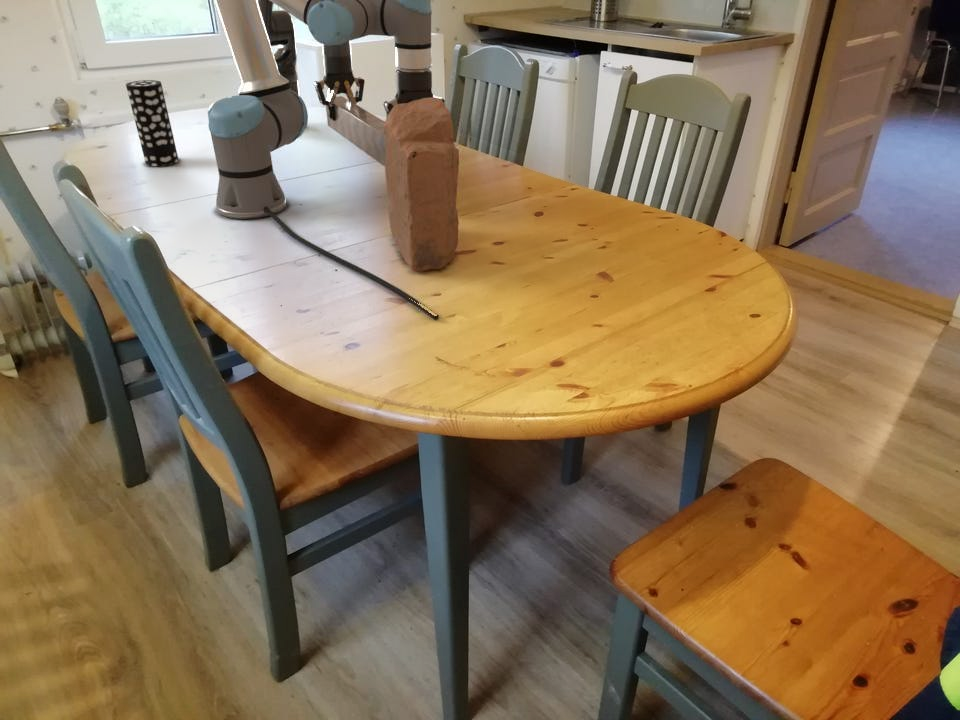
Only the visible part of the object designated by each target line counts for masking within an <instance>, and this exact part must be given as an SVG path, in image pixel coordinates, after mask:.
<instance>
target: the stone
mask: <svg viewBox="0 0 960 720" xmlns="http://www.w3.org/2000/svg"><path fill="white" fill-rule="evenodd" d="M441 98H442V97H440V98H437V96H435V97H432V98H422V99H419V100H414V101H411V102H409V103H406V104H405V103H403V104H398V105H396V106H394V107H393V108H392V110H391V111H390V113H389V115H388V117H387V118H386V119H385V120H384V121H385V124H384V135H385V137H386V142H387V143H386V151H385V161H386V165H385V166H384V173H385V183H386V184H385V185H386V193H387V198H388V207H387V212H388V223H389V228H390V232H391V236H392V238H393V239H394V242H395V245H396V246H397V247H398V250H399V251H400V254H401V256H402V259H403V260H404V262H405V263H406V264H407V265H408V266H409V268H410V269H411V270H412V271H413V272H425V271H428V270H440V269H442V268H444V267H446V265H447V264H448V263H450V262H451V261H452V260H454V259H455V257H456V252H457V249H458V245H459V225H460V221H459V214H458V213H459V212H458V208H457V195H458V176H459V166H460V150H459V149H458V148H457V147H456V145H455V142H454V140H455V139H454V138H455V137H454V134H455V133H454V124H453V120H452V116H451V112H450V109H449V108H448V107H446V102H445V103H444V102H443V101H442V99H441Z"/></svg>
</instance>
